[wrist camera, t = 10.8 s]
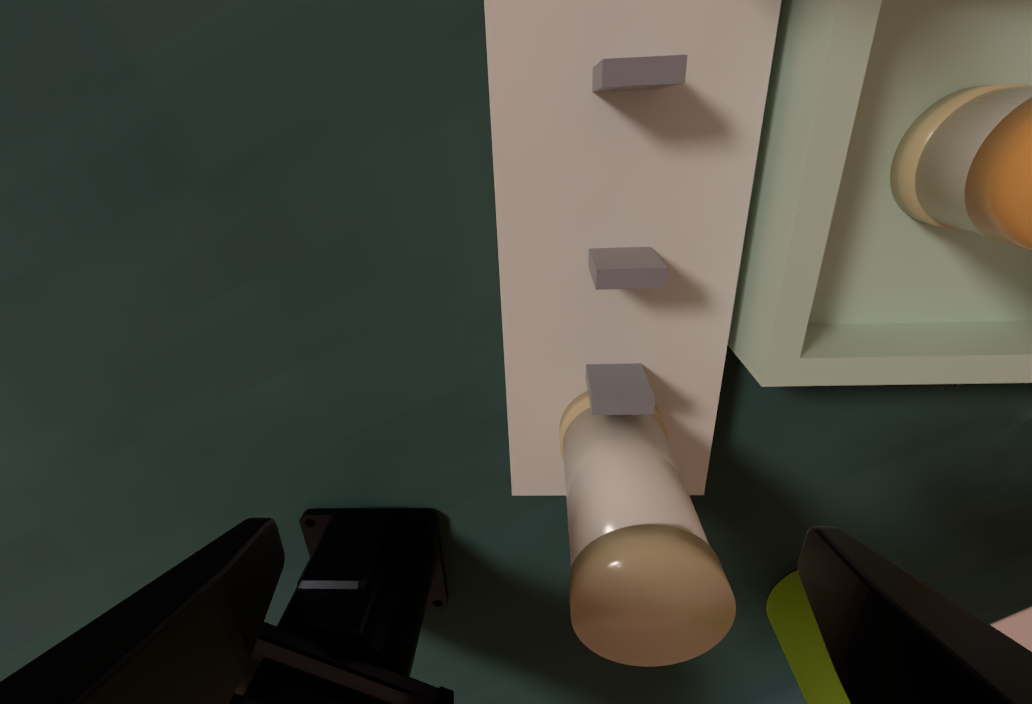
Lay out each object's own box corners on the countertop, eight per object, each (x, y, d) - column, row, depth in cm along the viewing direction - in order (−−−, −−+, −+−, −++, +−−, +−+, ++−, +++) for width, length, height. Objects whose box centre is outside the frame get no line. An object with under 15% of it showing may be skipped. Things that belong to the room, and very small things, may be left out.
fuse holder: (693, 471, 22) (723, 541, 18) (513, 472, 22) (509, 540, 19) (824, -451, 11) (965, -731, 7) (466, -414, 11) (432, -657, 8)
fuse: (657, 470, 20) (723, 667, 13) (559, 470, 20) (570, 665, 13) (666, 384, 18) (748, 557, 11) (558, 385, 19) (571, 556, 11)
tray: (1051, 335, 19) (1157, 380, 15) (725, 342, 19) (761, 386, 16) (1262, -119, 13) (1495, -194, 10) (791, -88, 14) (867, -149, 10)
